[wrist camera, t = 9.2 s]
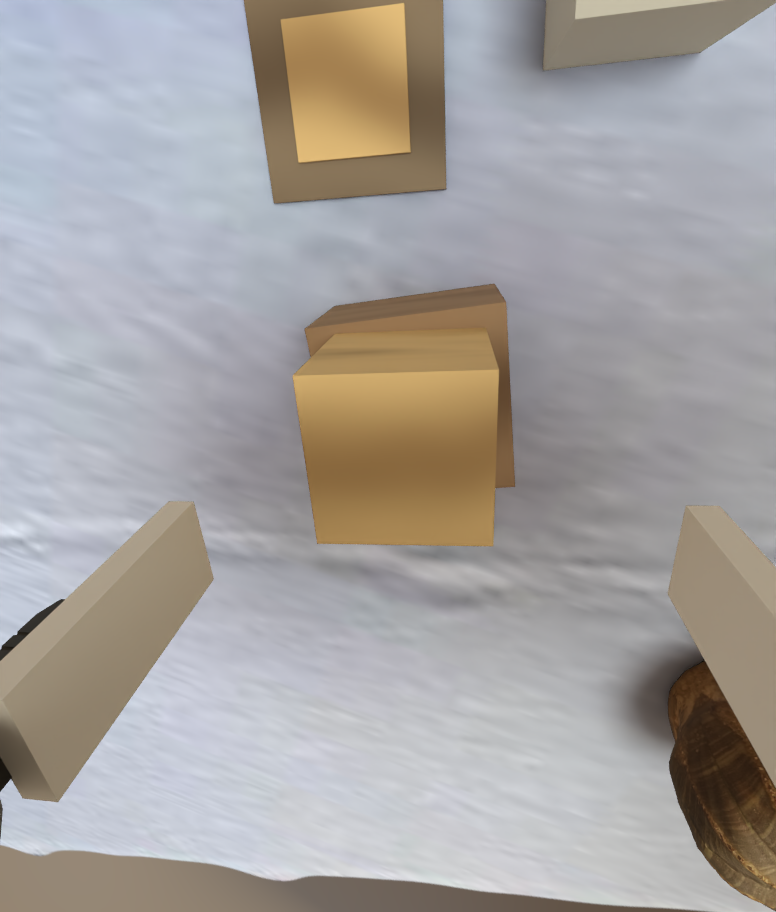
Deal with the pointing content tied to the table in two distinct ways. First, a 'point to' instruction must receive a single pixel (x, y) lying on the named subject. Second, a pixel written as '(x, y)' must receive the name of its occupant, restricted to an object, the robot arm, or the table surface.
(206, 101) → the table surface
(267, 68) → the tile
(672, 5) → the beige cube
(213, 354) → the table surface
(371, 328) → the walnut block
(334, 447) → the maple cube
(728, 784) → the shell
